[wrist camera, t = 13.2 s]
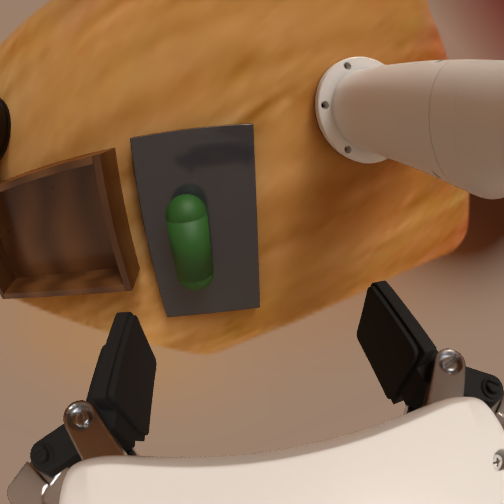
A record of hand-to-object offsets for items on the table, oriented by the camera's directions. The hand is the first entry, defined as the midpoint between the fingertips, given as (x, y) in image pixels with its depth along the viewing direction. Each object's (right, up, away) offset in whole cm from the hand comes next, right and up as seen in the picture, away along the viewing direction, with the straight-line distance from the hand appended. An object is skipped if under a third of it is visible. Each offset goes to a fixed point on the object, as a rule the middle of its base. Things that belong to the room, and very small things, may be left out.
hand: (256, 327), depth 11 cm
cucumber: (-6, +5, +18) cm, 20 cm away
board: (-6, +6, +20) cm, 21 cm away
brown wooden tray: (-25, +6, +16) cm, 30 cm away
